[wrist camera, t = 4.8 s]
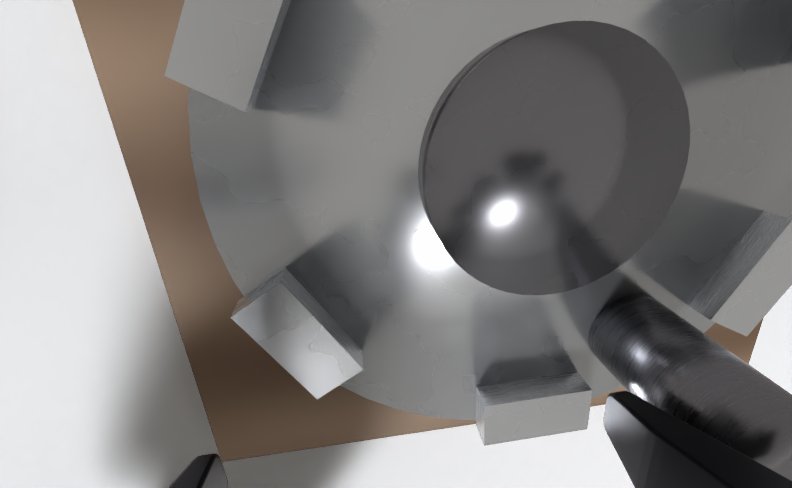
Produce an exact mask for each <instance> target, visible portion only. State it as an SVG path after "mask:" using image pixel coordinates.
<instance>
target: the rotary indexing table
mask: <svg viewBox="0 0 792 488" xmlns="http://www.w3.org/2000/svg"><path fill="white" fill-rule="evenodd" d="M164 76H166V77H168V78H170V79H172V80H175V81H177V82H179V83H181V84H184V85H186V86H188V87H189V96H188V114H189V130H190V146H191V157H192V162H193V167H194V172H195V177H196V182H197V187H198V192H199V197H200V202H201V205H202V208H203V211H204V214H205V217H206V220H207V222H208V225H209V228H210V231H211V234H212V237H213V240H214V243H215V245H216V247H217V249H218V251H219V253H220V255H221V257H222V259H223V261H224V263H225V265H226V267H227V269H228V271H229V273H230V275H231V277H232V279H233V281H234V282H235V284H236V285H237V287H238V288H239V290H240V291H241V293H242V294H243V296H244V297H243V298H241V299H240V300H239V301H238V303H237V305H236V307H235V309H234V311H233V313H232V315H231V317H230V318H231V319H233V320H234V321H235V322H236V323H237V324H238V325H239V326H240V327H241V328H242V329H243V330H244V331H245V332H246V333H247V334H248V335H249V336H251V337H252V338H253V339H254V340H255V341H256V342H257V343H258V344H259V345H260V346H261V347H262V348H263V349H264V350H265V351H266V352H267V353H269V354H270V355H271V356H272V357H273V358H274V359H275V360H276V361H277V362H278V363H279V364H280V365H281V366H282V367H283V368H284V369H286V370H287V371H288V372H289V373H290V374H291V375H292V376H293V377H294V378H295V379H296V380H297V381H298V382H299V383H300V384H301V385H302V386H304V387H305V388H306V389H307V390H308V391H309V392H310V393H311V394H312V395H313V396H314V397H315V398H316V399H319V398H320V397H322V396H323V395H325V394H326V393H328V392H330V391H331V390H333V389H334V388H336V387H337V386H339V385H340V386H342V387H344V388H346V389H348V390H350V391H352V392H354V393H356V394H358V395H360V396H362V397H364V398H366V399H369V400H372V401H375V402H378V403H381V404H383V405H386V406H389V407H392V408H395V409H398V410H402V411H407V412H411V413H416V414H420V415H425V416H429V417H438V418H447V419H456V420H476V426H477V428H478V431H479V433H480V436H481V439H482V441H483V444H484V445H490V444H497V443H503V442H509V441H515V440H522V439H528V438H534V437H540V436H546V435H553V434H559V433H565V432H571V431H578V430H584V429H587V425H588V418H589V411H590V404H591V399H593V398H595V397H598V396H600V395H602V394H605V393H607V392H610V391H612V390H615V389H617V388H619V387H621V386H623V387H624V388H625V389H626V390H627V391H628V392H631V393H633V394H634V395H636V396H638V397H640V398H642V399H644V400H645V401H647V402H649V403H651V404H653V405H654V406H656V407H658V408H660V409H662V410H664V411H665V412H667V413H669V414H671V415H673V416H675V417H676V418H678V419H680V420H682V421H684V422H686V423H687V424H689V425H691V426H693V427H695V428H696V429H698V430H700V431H702V432H704V433H706V434H707V435H709V436H711V437H713V438H715V439H717V440H718V441H720V442H722V443H724V444H726V445H727V446H729V447H731V448H733V449H735V450H737V451H738V452H740V453H742V454H744V455H746V456H748V457H749V458H751V459H753V460H755V461H757V462H759V463H760V464H762V465H764V466H766V467H768V468H769V469H771V470H773V471H775V472H777V473H779V474H780V475H782V476H784V477H786V478H788V479H790V480H791V481H792V395H791V394H790V393H788V392H787V391H786V390H784V389H783V388H781V387H780V386H778V385H777V384H776V383H774V382H773V381H771V380H770V379H768V378H767V377H766V376H764V375H763V374H761V373H760V372H759V371H757V370H756V369H754V368H753V367H751V366H750V365H749V364H747V363H746V362H744V361H743V360H741V359H740V358H739V357H737V356H736V355H734V354H733V353H732V352H730V351H729V350H727V349H726V348H724V347H723V346H722V345H720V344H719V343H717V342H716V341H714V340H713V339H712V338H710V337H709V336H707V335H706V334H704V333H705V332H706V331H707V330H708V329H709V328H710V327H711V326H712V325H713V324H715V323H718V324H720V325H722V326H724V327H727V328H729V329H731V330H733V331H735V332H738V333H740V334H742V335H744V336H748V335H749V334H750V332H751V331H752V330H753V329H754V328H755V327H756V325H757V324H758V323H759V322H760V321H761V320H762V318H763V317H764V316H765V315H766V314H767V313H768V311H769V310H770V309H771V308H772V307H773V306H774V304H775V303H776V302H777V301H778V300H779V299H780V297H781V296H782V295H783V294H784V293H785V292H786V291H787V289H788V288H789V287H790V286H791V285H792V0H185V1H184V5H183V9H182V12H181V16H180V20H179V23H178V27H177V31H176V35H175V38H174V42H173V46H172V49H171V53H170V57H169V60H168V64H167V68H166V72H165V75H164Z"/></svg>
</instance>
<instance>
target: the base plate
mask: <svg viewBox="0 0 792 488" xmlns="http://www.w3.org/2000/svg"><path fill="white" fill-rule="evenodd" d="M184 1H185V0H73V3H74V6H75V9H76V12H77V15H78V18H79V21H80V25H81V28H82V31H83V34H84V37H85V40H86V43H87V46H88V49H89V52H90V55H91V59H92V62H93V65H94V68H95V71H96V74H97V77H98V80H99V83H100V86H101V89H102V93H103V96H104V99H105V102H106V105H107V108H108V111H109V114H110V117H111V120H112V123H113V127H114V130H115V133H116V136H117V139H118V142H119V145H120V148H121V151H122V154H123V157H124V161H125V164H126V167H127V170H128V173H129V176H130V179H131V182H132V185H133V188H134V191H135V195H136V198H137V201H138V204H139V207H140V210H141V213H142V216H143V219H144V222H145V225H146V229H147V232H148V235H149V238H150V241H151V244H152V247H153V250H154V253H155V256H156V259H157V263H158V266H159V269H160V272H161V275H162V278H163V281H164V284H165V287H166V290H167V293H168V297H169V300H170V303H171V306H172V309H173V312H174V315H175V318H176V321H177V324H178V327H179V331H180V334H181V337H182V340H183V343H184V346H185V349H186V352H187V355H188V358H189V361H190V365H191V368H192V371H193V374H194V377H195V380H196V383H197V386H198V389H199V392H200V395H201V398H202V402H203V405H204V408H205V411H206V414H207V417H208V420H209V423H210V426H211V429H212V432H213V436H214V439H215V442H216V445H217V448H218V451H219V454H220V457H221V460H222V462H224V461H231V460H237V459H244V458H251V457H257V456H264V455H271V454H277V453H284V452H291V451H297V450H304V449H311V448H317V447H324V446H331V445H337V444H344V443H351V442H357V441H364V440H371V439H377V438H384V437H391V436H397V435H404V434H410V433H417V432H424V431H430V430H437V429H444V428H450V427H457V426H464V425H470V424H476V420H456V419H447V418H438V417H429V416H425V415H420V414H416V413H411V412H407V411H402V410H398V409H395V408H392V407H389V406H386V405H383V404H381V403H378V402H375V401H372V400H369V399H366V398H364V397H362V396H360V395H358V394H356V393H354V392H352V391H350V390H348V389H346V388H344V387H342V386H340V385H339V386H337V387H336V388H334V389H333V390H331V391H330V392H328V393H326V394H325V395H323V396H322V397H320V398H319V399H316V398H315V397H314V396H313V395H312V394H311V393H310V392H309V391H308V390H307V389H306V388H305V387H304V386H302V385H301V384H300V383H299V382H298V381H297V380H296V379H295V378H294V377H293V376H292V375H291V374H290V373H289V372H288V371H287V370H286V369H284V368H283V367H282V366H281V365H280V364H279V363H278V362H277V361H276V360H275V359H274V358H273V357H272V356H271V355H270V354H269V353H267V352H266V351H265V350H264V349H263V348H262V347H261V346H260V345H259V344H258V343H257V342H256V341H255V340H254V339H253V338H252V337H251V336H249V335H248V334H247V333H246V332H245V331H244V330H243V329H242V328H241V327H240V326H239V325H238V324H237V323H236V322H235V321H234V320H233V319H231V318H230V317H231V315H232V313H233V311H234V309H235V307H236V305H237V303H238V301H239V300H240V299H241V298H243V297H244V296H243V294H242V293H241V291H240V290H239V288H238V287H237V285H236V284H235V282H234V281H233V279H232V277H231V275H230V273H229V271H228V269H227V267H226V265H225V263H224V261H223V259H222V257H221V255H220V253H219V251H218V249H217V247H216V245H215V243H214V240H213V237H212V234H211V231H210V228H209V225H208V222H207V220H206V217H205V214H204V211H203V208H202V205H201V202H200V197H199V192H198V187H197V182H196V177H195V172H194V167H193V162H192V157H191V146H190V130H189V114H188V96H189V87H188V86H186V85H184V84H181V83H179V82H177V81H175V80H172V79H170V78H168V77H166V76H164V75H165V72H166V68H167V64H168V60H169V57H170V53H171V49H172V46H173V42H174V38H175V35H176V31H177V27H178V23H179V20H180V16H181V12H182V9H183V5H184ZM762 320H763V318H762ZM762 320H761V321H760V322H759V323H758V324H757V325H756V327H755V328H754V329H753V330H752V331H751V332H750V334H749V335H748V336H744V335H742V334H740V333H738V332H735V331H733V330H731V329H729V328H727V327H724V326H722V325H720V324H718V323H715V324H713V325H712V326H711V327H710V328H709V329H708V330H707V331H706V332H705V333H704V334H706V335H707V336H709V337H710V338H712V339H713V340H714V341H716V342H717V343H719V344H720V345H722V346H723V347H724V348H726V349H727V350H729V351H730V352H732V353H733V354H734V355H736V356H737V357H739V358H740V359H741V360H743V361H744V362H746V363H747V364H749V361H750V358H751V354H752V351H753V348H754V345H755V342H756V339H757V336H758V333H759V330H760V327H761V323H762ZM619 391H627V390H626V389H625V388H624V387H623V386H621V387H619V388H617V389H615V390H612V391H610V392H607V393H605V394H602V395H600V396H598V397H595V398H593V399H591V404H590V406H597V405H604V404H606V401H607V396H608V395H609V394H610V393H613V392H619Z"/></svg>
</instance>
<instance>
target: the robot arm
mask: <svg viewBox="0 0 792 488" xmlns="http://www.w3.org/2000/svg"><path fill="white" fill-rule="evenodd" d="M604 427H605V430H606V432H607V434H608V436H609V438H610V440H611V442H612V444H613V446H614V448H615V450H616V451H617V453H618V455H619V457H620V459H621V461H622V463H623V465H624V467H625V469H626V471H627V473H628V475H629V477H630V479H631V481H632V483H633V485H634V486H635V488H792V481H791V480H790V479H788V478H786V477H784V476H782V475H780V474H779V473H777V472H775V471H773V470H771V469H769V468H768V467H766V466H764V465H762V464H760V463H759V462H757V461H755V460H753V459H751V458H749V457H748V456H746V455H744V454H742V453H740V452H738V451H737V450H735V449H733V448H731V447H729V446H727V445H726V444H724V443H722V442H720V441H718V440H717V439H715V438H713V437H711V436H709V435H707V434H706V433H704V432H702V431H700V430H698V429H696V428H695V427H693V426H691V425H689V424H687V423H686V422H684V421H682V420H680V419H678V418H676V417H675V416H673V415H671V414H669V413H667V412H665V411H664V410H662V409H660V408H658V407H656V406H654V405H653V404H651V403H649V402H647V401H645V400H644V399H642V398H640V397H638V396H636V395H634V394H633V393H631V392H628V391H619V392H613V393H610V394H609V395H608V396H607V401H606V407H605V413H604ZM169 488H228V482H227V478H226V475H225V472H224V469H223V466H222V463H221V460H220V457H219V456H218V455H217V454H208V455H201V456H198V457H196V458H195V459H194V460H193V461H192V462H191V463H190V464H189V465H188V466H187V468H186V469H185V470H184V471H183V472H182V473H181V474H180V475H179V477H178V478H177V479H176V480H175V481H174V482H173V483H172V484H171V486H170V487H169Z"/></svg>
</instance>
